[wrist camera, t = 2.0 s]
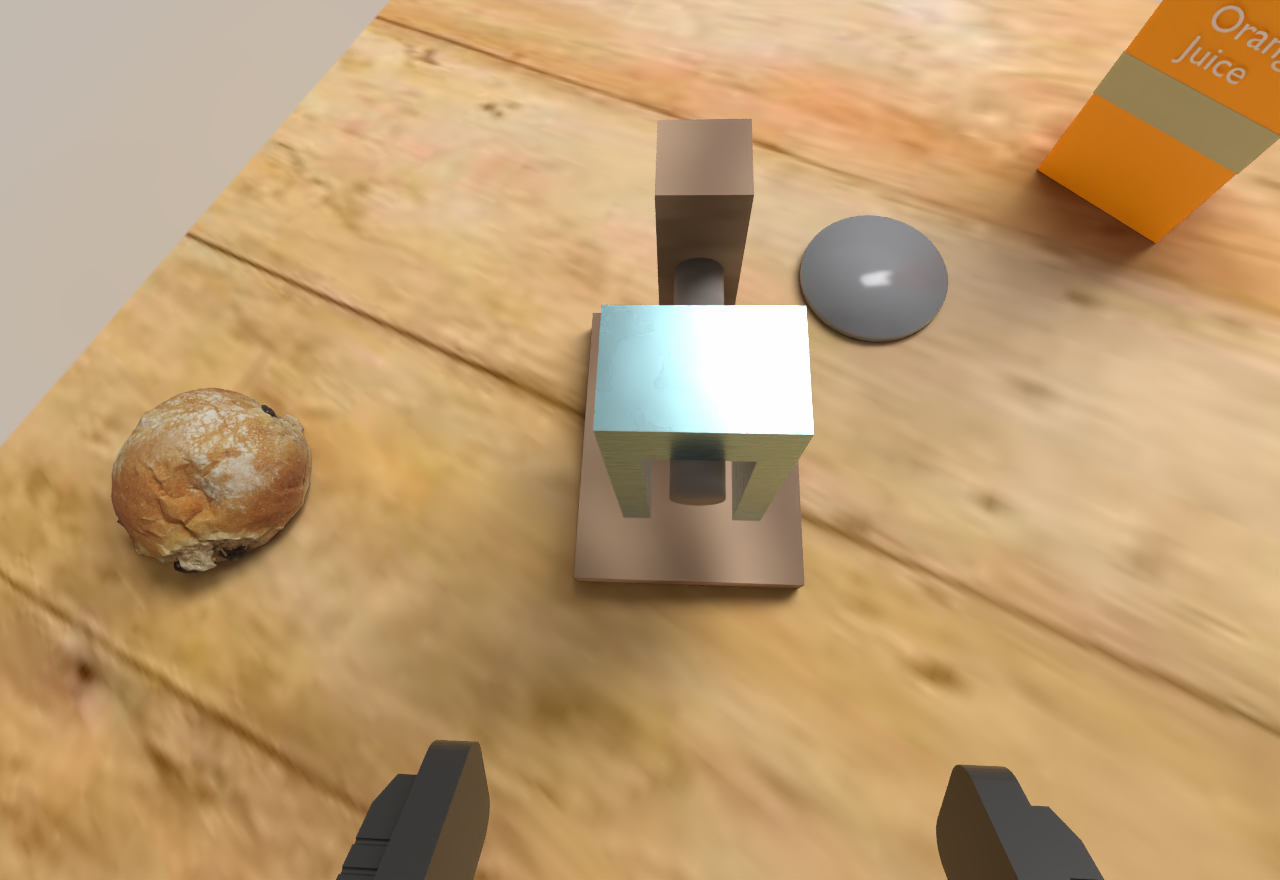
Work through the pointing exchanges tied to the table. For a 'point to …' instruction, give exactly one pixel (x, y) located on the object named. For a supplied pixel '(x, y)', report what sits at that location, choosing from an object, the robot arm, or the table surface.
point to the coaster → (873, 278)
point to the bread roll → (209, 478)
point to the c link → (703, 396)
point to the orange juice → (1176, 113)
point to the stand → (687, 489)
